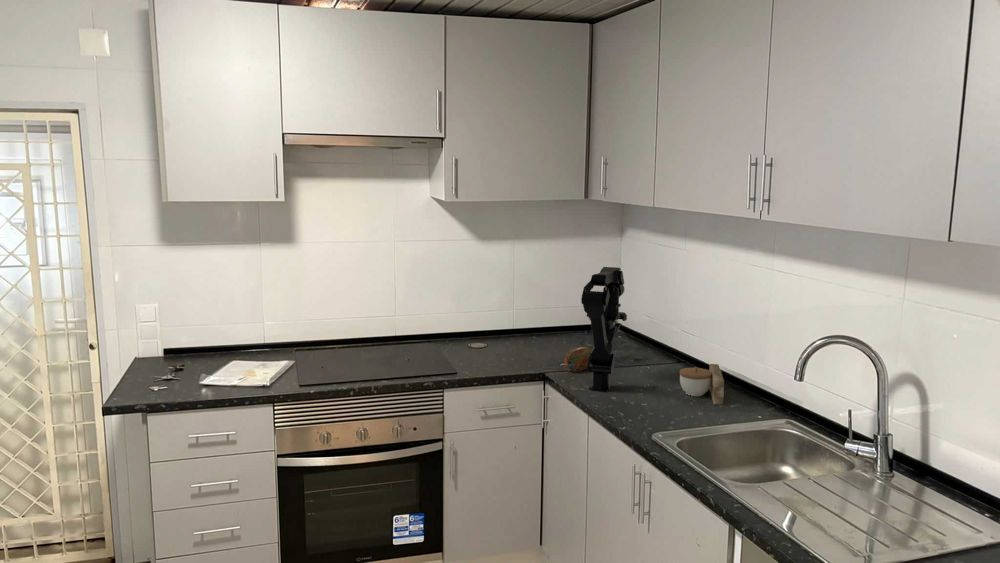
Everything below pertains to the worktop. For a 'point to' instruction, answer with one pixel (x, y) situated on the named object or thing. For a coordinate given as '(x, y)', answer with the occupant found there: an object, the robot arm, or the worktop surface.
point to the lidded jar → (695, 381)
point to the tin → (577, 359)
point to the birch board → (716, 384)
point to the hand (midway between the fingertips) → (610, 343)
